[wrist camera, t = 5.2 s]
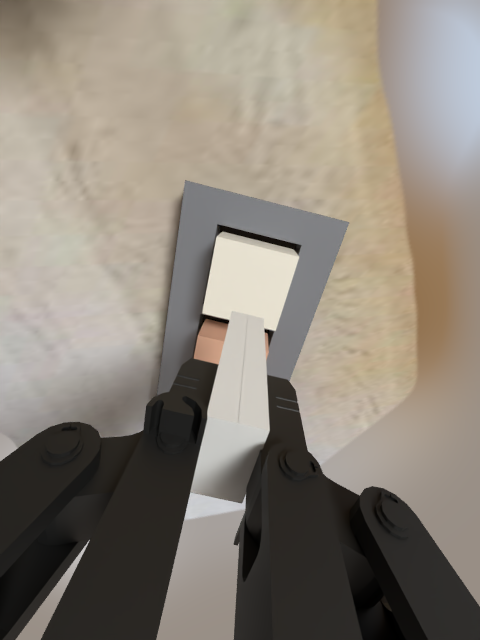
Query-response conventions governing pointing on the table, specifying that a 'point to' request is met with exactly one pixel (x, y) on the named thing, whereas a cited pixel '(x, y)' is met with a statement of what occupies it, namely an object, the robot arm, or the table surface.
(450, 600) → the robot arm
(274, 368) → the keypad board
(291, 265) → the cream square block
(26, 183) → the table surface
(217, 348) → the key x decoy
